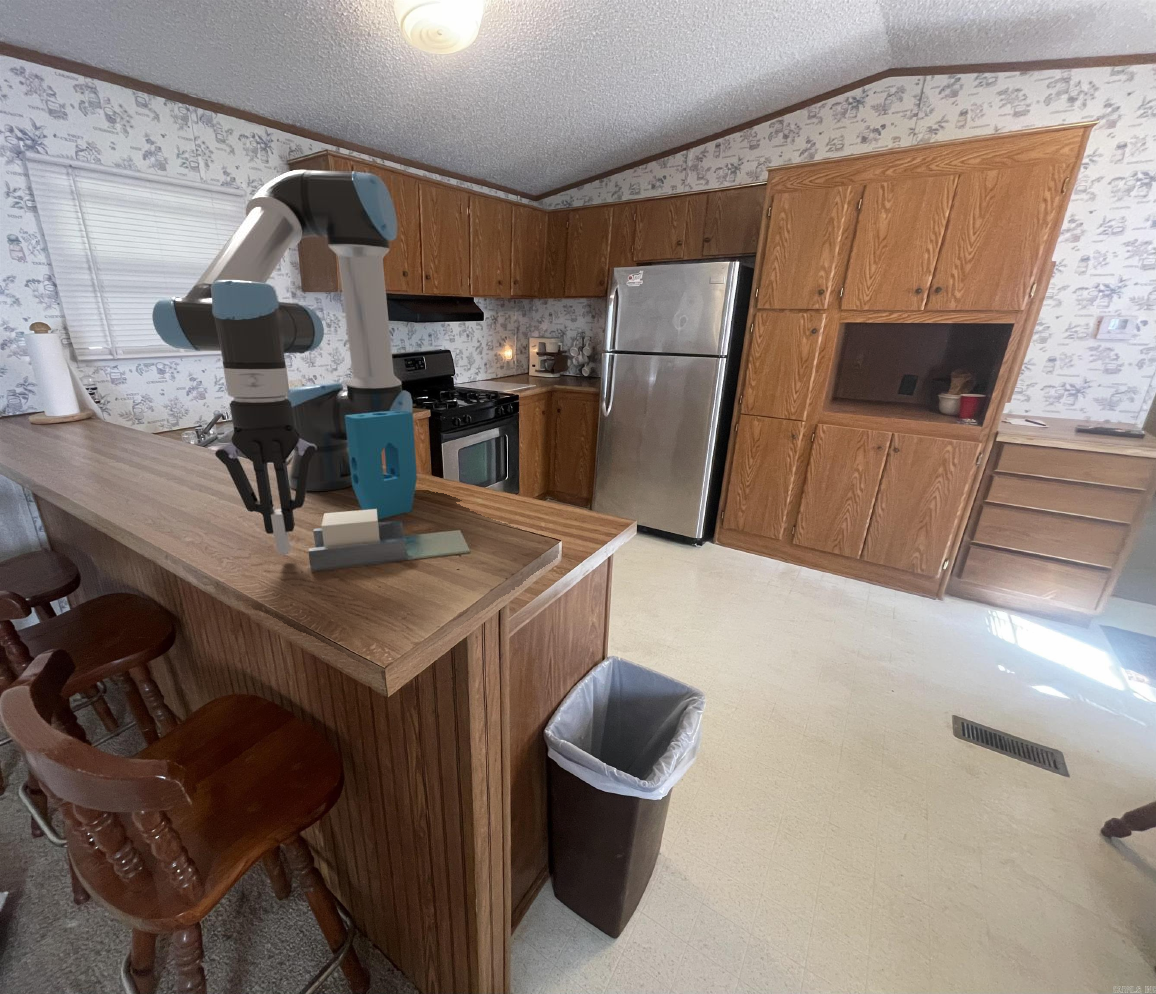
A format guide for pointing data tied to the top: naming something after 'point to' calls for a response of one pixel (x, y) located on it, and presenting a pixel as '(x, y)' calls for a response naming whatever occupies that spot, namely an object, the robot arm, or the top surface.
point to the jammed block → (350, 527)
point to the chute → (385, 548)
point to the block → (366, 466)
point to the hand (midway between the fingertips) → (283, 550)
